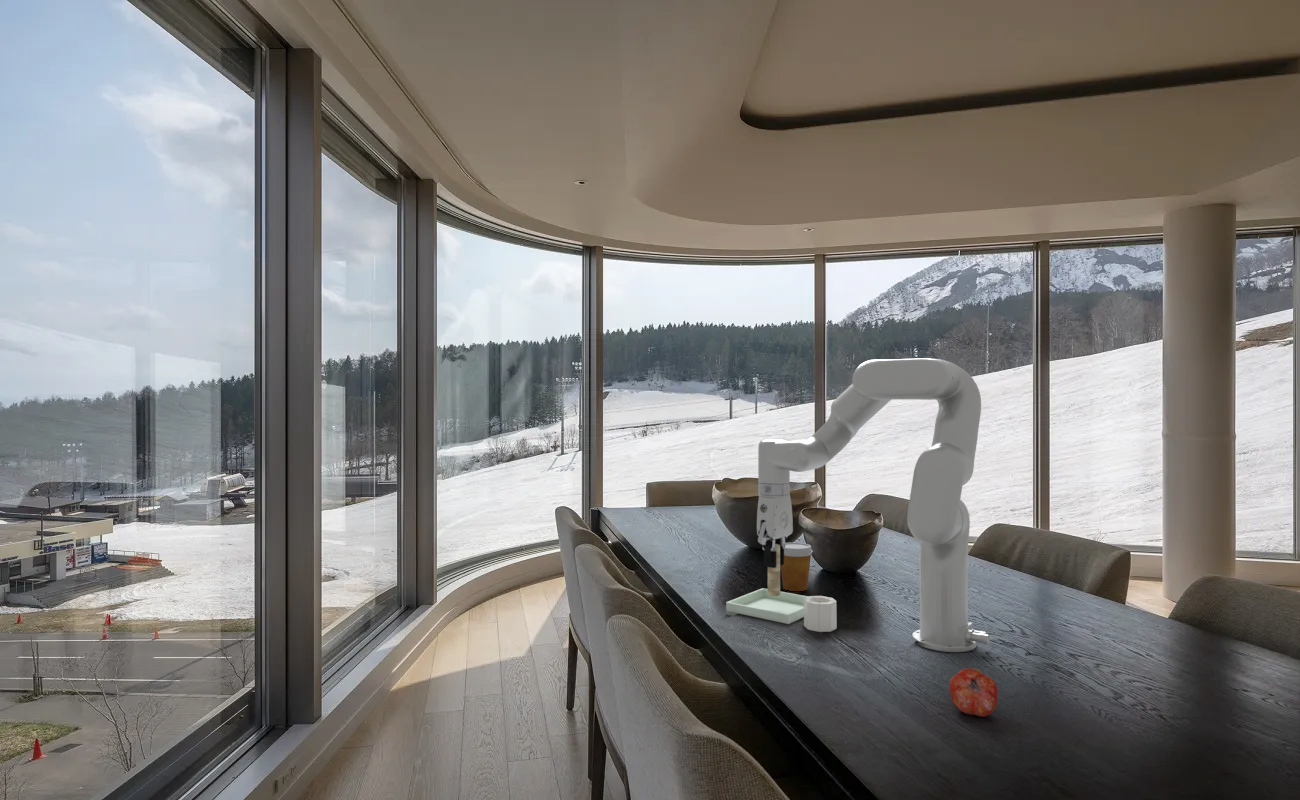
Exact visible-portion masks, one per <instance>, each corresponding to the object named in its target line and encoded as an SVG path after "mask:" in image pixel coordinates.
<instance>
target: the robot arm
mask: <svg viewBox="0 0 1300 800" xmlns="http://www.w3.org/2000/svg"><path fill="white" fill-rule="evenodd" d="M893 400H923V401H925V400H927V401H929V400H930V401H931V400H933V401H937V403H938V411H937V415H936V419H935V423H934V430H933V431H934V432H933V438H932V443H931V446H930V447H928V448H927V449H925V450H924V451H923V452H922V453H921V454H920V455H919V457H918V459H917V460H916V463H915V466H914V469H913V475H912V482H911V488H910V495H909V501H908V507H907V508H908V509H907V526H908V529H909V531H910V533H911V534H912V536H913V538H915V540H917V541H918V542H919V557H918V558H919V561H918V562H919V629H917V630H915V631H913V632H912V634H911V636H912V638H913V639H914V640H915V641H914V644H916V645H918V646H921V647H922V648H925V649H929V650H933V651H938V652H946V653H965V652H969V651H973V650H975V648H977V643H978V644H983V645H989V644H990V641H991V640H990V639H991V638H990V635H989V634H988V633H987V632H986V631H981V630H976V629H975V628H973V622H971V621H970V622H969V592H968V591H969V589H968V588H969V587H968V586H969V583H968V582H969V580H968V579H969V577H968V573H969V572H968V571H969V554H968V553H969V540H970V539H969V538H970V529H971V527H970V526H971V525H970V524H971V521H970V520H971V519H970V514H969V510H968V508H967V506H966V504H965V502H963V500H961V496H962V491H963V486H964V485H967V484H968V482H969V481H970V480H971V479H972V477H973V473H974V468H975V458H976V452H977V444H978V435H979V430H980V429H979V428H980V421H981V415H982V414H981V413H982V398H981V392H980V389H979V386H978V385H977V382H976V381H975V380H974V378H973V377H972V376H971V375H970V374H969V372H967V371H966V370H965V369H964V368H963V367H960V366H959V365H957V364H955V363H953V362H951V361H948V360H944V359H939V358H930V357H928V358H927V357H925V358H924V357H923V358H920V357H919V358H900V359H869V360H866V361H864V362H862V363H860V364H859V365H858V366H857V367H856V369H855V370H854V372H853V374H852V382H851V384H850V385H849V386H848V387H847V388H846V389H845V390H844V391H842V392H841V394H839V395H838V397H836V398H835V399H834V400H833V401H832V403H831V406H830V415H829V417H828V419H827V420H826V421H825V422H824V424H823V425H822V426H821V427H820V428H819V429H818V430H817V431H816V432H815V433H813V434H812V435H811V436H810V437H809V438H801V439H795V440H789V441H788V440H786V439H782V438H767V439H766V438H765V439H762V440H760V441H759V443H758V449H757V450H758V454H757V455H758V456H757V457H758V459H757V460H758V463H757V464H758V467H757V469H758V471H757V472H758V473H757V474H758V476H757V477H758V478H757V479H758V487H757V489H758V491H757V492H758V500H757V501H758V502H757V511H756V534H757V536H758V537H757V542H758V543H759V544H760V545H761V546H762V550H763V566H764V567H766V568H768V567H771V568H776V551H775V544H779V545H780V566H781V565H784V549H783V548H785V543H786V540H787V538H788V537H789V536H790V535H792V534H793V532H794V523H793V522H794V521H793V507H792V499H791V496H790V490H791V489H790V486H791V485H790V481H791V478H790V477H791V476H790V472H793V473H794V472H796V473H802V472H803V473H804V472H808V471H811V470H816V469H820V468H822V467H824V466H825V465H827V463H828V462H830V461H831V460H833V458H835V456H837V455H838V454H839V453H840V452H842V450H843V449H844V448H845V447H846V446H847V445H848V444H849V443H850V442H851V440H853V438H854V437H855V436H856V434H857V433H858V431H859V430H860V429H861V428H862V427H863V426H864V425H866V423H867V422H869V420H871V419H872V418H873V417H874V416H875V415H876V414H878V412H879V411H881V410H882V409H883V408H884V407H885V406H886V405H887V404H888V403H890V402H891V401H893Z"/></svg>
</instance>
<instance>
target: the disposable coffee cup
mask: <svg viewBox="0 0 1300 800" xmlns="http://www.w3.org/2000/svg"><path fill="white" fill-rule="evenodd" d="M783 549H784V565H780V573H781V579H782V587H783V588H782V589H783V590H784V589H785V590H784V591H786V590H789V591H804V590H806V589H807V590H808V584H809V583H808V582H809V576H810V575H809V574H810V567H811V566H810V565H811V556H812V555H813V552H814V551H813V549H812V545H811V544H809V543H805V542H803V543H802V542H785V548H783ZM807 590H806V591H807ZM789 591H788V592H789ZM804 592H805V591H804Z"/></svg>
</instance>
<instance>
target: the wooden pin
mask: <svg viewBox="0 0 1300 800" xmlns="http://www.w3.org/2000/svg"><path fill="white" fill-rule="evenodd" d="M775 551H776V568H771V567H767V589H768V595H770V596H779V595H780V591H781V565H780V545H779V544H775Z"/></svg>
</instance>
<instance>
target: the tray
mask: <svg viewBox="0 0 1300 800" xmlns="http://www.w3.org/2000/svg"><path fill="white" fill-rule="evenodd" d="M807 597H809V596H807V595H801V594H797V593H793V592H787V591H786V592H785V591H781V590H780V595H779V596H770V595H768V588H763V587H762V588H760V589H756V590H755V591H752V592H749V593H746V594H744V595H741V596H739V597H736V598H734V599H731V600H729V601H726V602H725V604H726V605H725V615H726V616H730V615H731V617H733V616H735V615H739V614H740V615H743V616H749V617H753V618H757V619H763V620H767V621H771V622H772V621H773V622H776V623H781V624H786V625H790V624H792V623H794V622H796V621H798V620H800V619H804V598H807Z"/></svg>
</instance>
